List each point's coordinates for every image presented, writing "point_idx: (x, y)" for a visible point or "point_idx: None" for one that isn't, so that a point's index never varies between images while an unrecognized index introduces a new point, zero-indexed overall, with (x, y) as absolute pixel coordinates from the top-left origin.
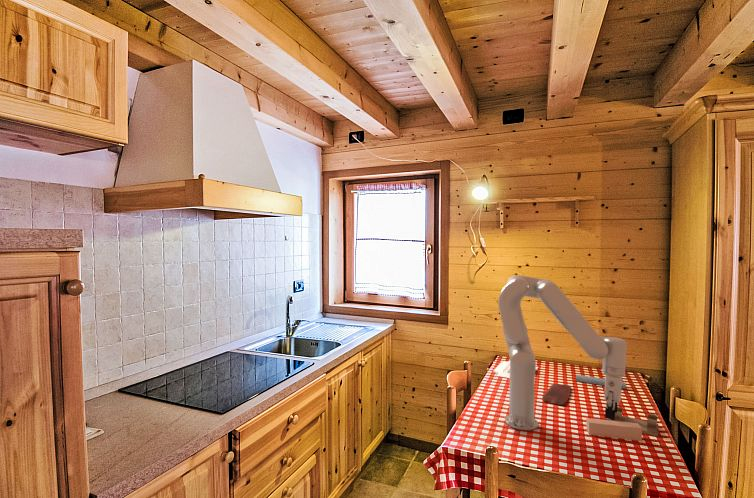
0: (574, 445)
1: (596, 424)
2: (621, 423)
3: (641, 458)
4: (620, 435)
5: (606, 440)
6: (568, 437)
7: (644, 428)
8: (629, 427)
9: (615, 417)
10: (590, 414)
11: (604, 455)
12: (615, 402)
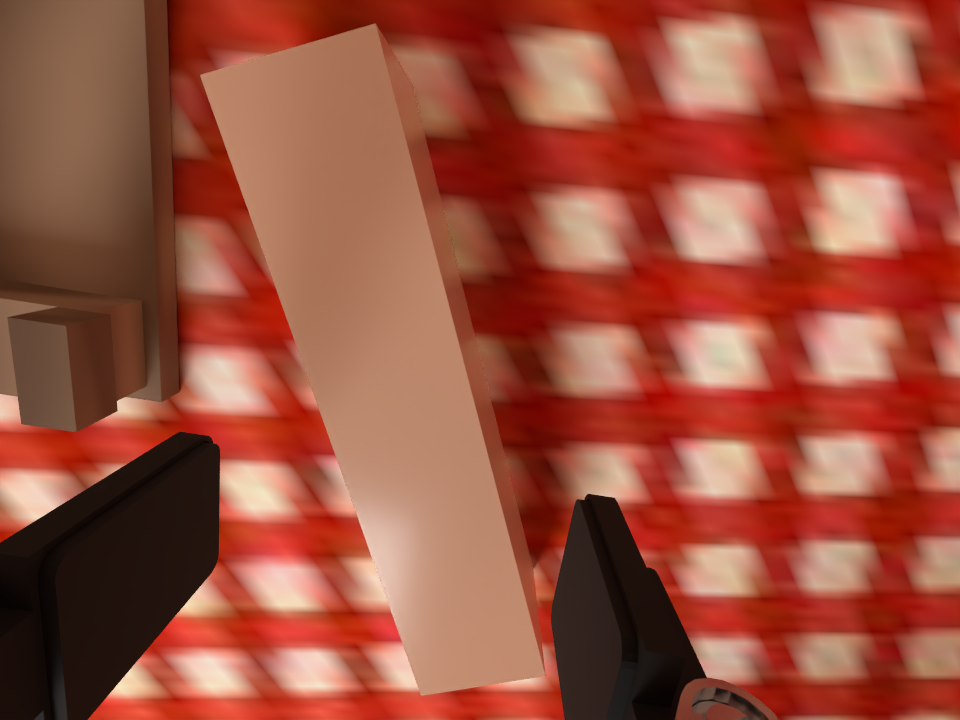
0: (801, 666)
1: (527, 598)
2: (357, 328)
3: (877, 136)
4: (466, 316)
5: (587, 438)
6: None
7: (66, 3)
8: (430, 225)
9: (101, 371)
10: None
11: (916, 467)
12: (16, 599)
